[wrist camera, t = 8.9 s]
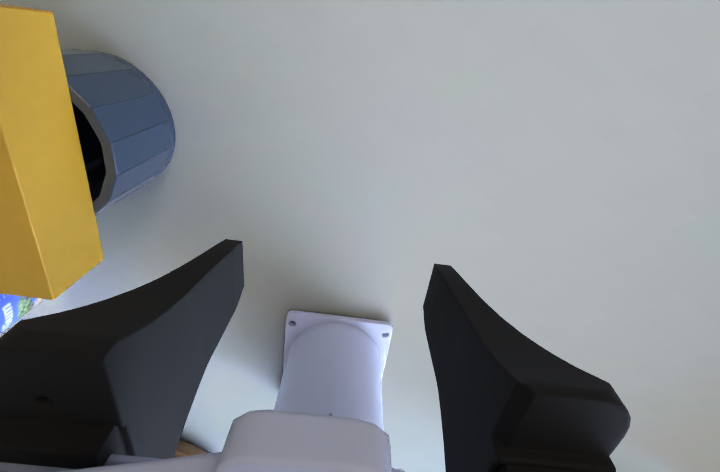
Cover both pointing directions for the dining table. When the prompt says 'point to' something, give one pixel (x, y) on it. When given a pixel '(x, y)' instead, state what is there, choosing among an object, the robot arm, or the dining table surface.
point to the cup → (117, 124)
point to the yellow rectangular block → (40, 164)
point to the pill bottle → (14, 308)
